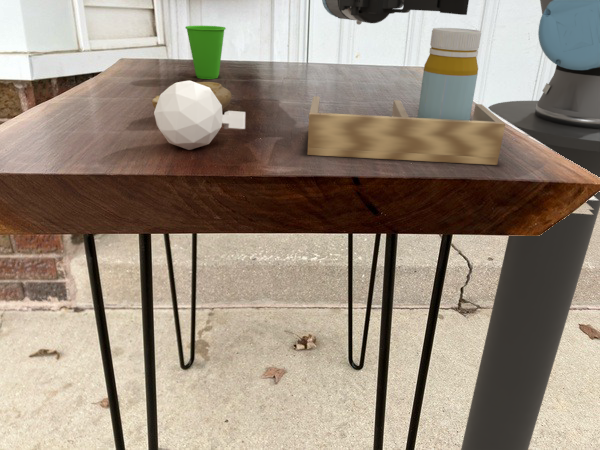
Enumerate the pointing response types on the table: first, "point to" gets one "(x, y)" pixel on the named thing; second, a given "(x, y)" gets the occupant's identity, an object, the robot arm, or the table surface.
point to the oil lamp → (217, 89)
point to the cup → (206, 49)
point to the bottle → (450, 74)
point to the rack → (406, 136)
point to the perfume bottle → (193, 115)
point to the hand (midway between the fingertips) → (424, 4)
